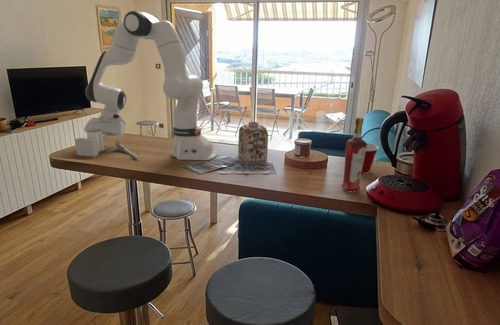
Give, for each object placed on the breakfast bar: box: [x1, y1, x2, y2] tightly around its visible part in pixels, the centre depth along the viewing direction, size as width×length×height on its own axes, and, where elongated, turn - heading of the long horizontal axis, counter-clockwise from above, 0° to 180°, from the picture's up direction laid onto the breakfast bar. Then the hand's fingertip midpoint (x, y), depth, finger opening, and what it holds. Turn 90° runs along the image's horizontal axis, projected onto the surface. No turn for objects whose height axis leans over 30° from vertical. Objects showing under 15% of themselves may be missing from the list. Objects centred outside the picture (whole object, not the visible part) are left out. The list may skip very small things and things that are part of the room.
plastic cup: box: [362, 142, 380, 173], centre depth 146 cm, size 11×11×12 cm
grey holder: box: [74, 137, 115, 158], centre depth 161 cm, size 14×18×9 cm
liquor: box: [341, 116, 368, 193], centre depth 122 cm, size 7×7×28 cm
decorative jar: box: [237, 121, 269, 163], centre depth 159 cm, size 12×12×18 cm
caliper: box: [115, 140, 141, 161], centre depth 160 cm, size 20×1×6 cm, turn 49°
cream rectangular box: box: [85, 129, 105, 152], centre depth 160 cm, size 5×5×11 cm
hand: (99, 141), depth 164 cm, fingers closed, pressing on cream rectangular box
